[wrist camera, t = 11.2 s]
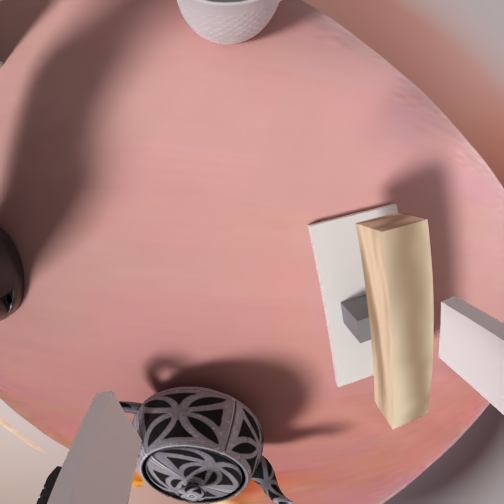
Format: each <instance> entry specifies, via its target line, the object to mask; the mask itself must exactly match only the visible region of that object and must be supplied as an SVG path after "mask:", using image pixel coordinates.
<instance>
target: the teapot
mask: <svg viewBox="0 0 504 504" xmlns="http://www.w3.org/2000/svg"><path fill="white" fill-rule="evenodd" d="M119 403H120V405H121V407H122V408H123V410H124V412H125V413H134V414H135V416H134V419H133V422H132V425H133V427H134V429H135V430H136V432H137V433H138V435H139V436H140V438H141V440H142V442H141V446H140V450H139V455H138V459H137V465H138V468H139V471H140V473H141V475H142V477H143V478H144V479H145V481H146V482H147V483H148V484H149V485H150V486H151V487H152V488H154V489H155V490H156V491H158V492H160V493H162V494H164V495H166V496H168V497H171V498H173V499H177V500H180V501H184V502H190V503H215V502H220V501H224V500H227V499H230V498H232V497H234V496H236V495H237V494H239V493H240V492H241V491H243V490H244V489H245V487H246V486H247V484H248V483H249V481H250V479H253V480H254V481H255V482H257V483H258V485H259V486H260V487H261V488H262V489H263V491H264V492H265V493H266V495H267V496H268V497H269V498H270V499H271V500H272V501H273V502H275V503H276V504H294V503H293V502H292V501H290V500H289V499H288V498H286V497H285V496H284V495H283V493H282V492H281V490H280V488H279V486H278V483H277V480H276V476H275V473H274V470H273V468H272V466H271V464H270V463H269V462H268V460H267V459H266V458H265V457H263V456H262V451H263V442H264V439H263V431H262V427H261V425H260V423H259V421H258V419H257V417H256V416H255V415H254V413H253V412H252V411H251V410H250V409H249V408H248V407H247V406H246V405H244V404H243V403H242V402H240V401H239V400H237V399H235V398H234V397H232V396H230V395H228V394H225V393H223V392H220V391H217V390H213V389H210V388H204V387H196V386H184V387H175V388H171V389H167V390H164V391H161V392H158V393H156V394H155V395H153V396H151V397H150V398H148V399H147V400H146V401H145V402H144V403H143V404H140V403H134V402H122V401H121V402H119Z"/></svg>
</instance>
